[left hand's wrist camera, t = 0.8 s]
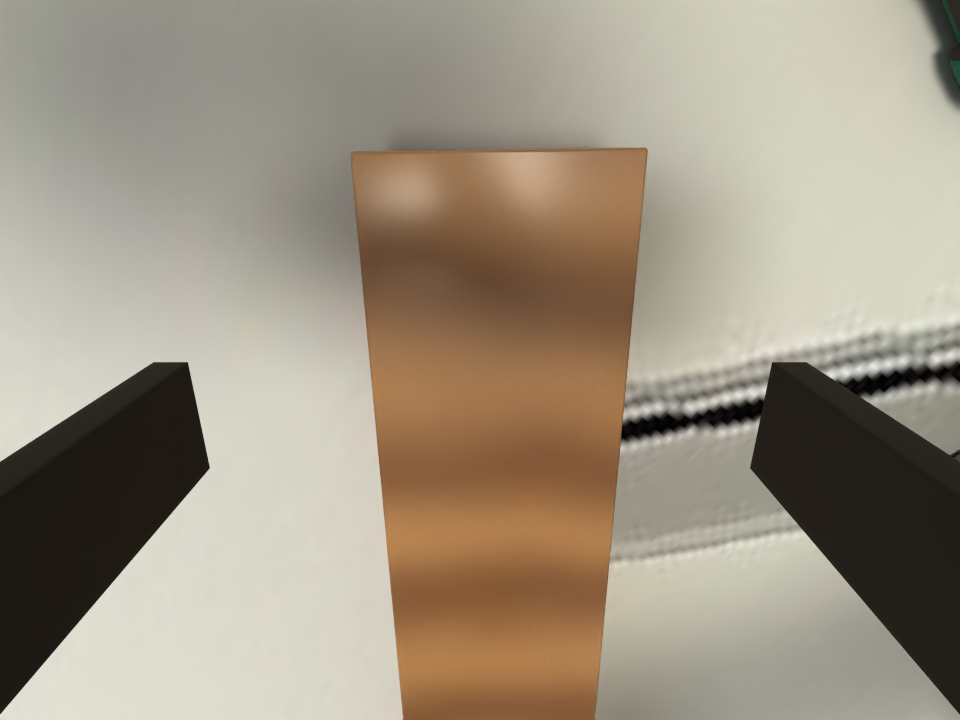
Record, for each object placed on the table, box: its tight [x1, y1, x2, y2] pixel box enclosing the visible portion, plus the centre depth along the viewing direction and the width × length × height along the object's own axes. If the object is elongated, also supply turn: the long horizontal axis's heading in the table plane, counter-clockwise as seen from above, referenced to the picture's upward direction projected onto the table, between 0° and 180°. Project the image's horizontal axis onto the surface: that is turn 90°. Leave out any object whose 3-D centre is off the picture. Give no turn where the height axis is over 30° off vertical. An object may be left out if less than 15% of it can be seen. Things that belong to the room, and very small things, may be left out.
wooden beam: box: [350, 148, 648, 720], centre depth 32 cm, size 55×10×7 cm, turn 1°
